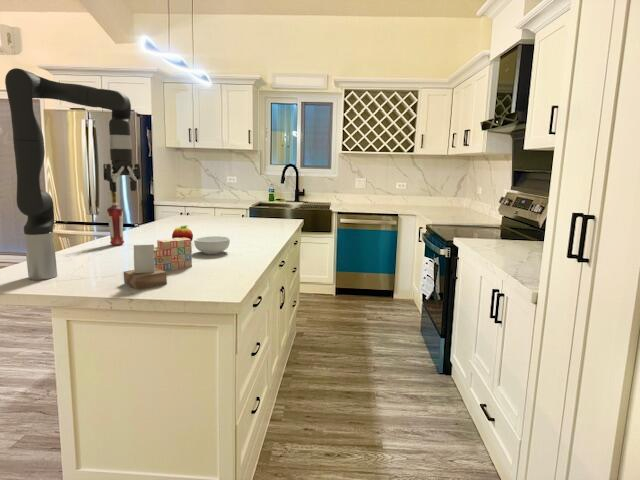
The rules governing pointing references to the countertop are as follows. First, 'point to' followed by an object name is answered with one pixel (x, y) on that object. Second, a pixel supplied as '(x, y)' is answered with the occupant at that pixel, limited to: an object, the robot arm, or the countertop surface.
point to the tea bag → (144, 259)
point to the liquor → (115, 221)
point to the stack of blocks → (173, 254)
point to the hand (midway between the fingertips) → (123, 191)
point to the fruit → (182, 233)
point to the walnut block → (145, 279)
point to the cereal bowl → (212, 244)
